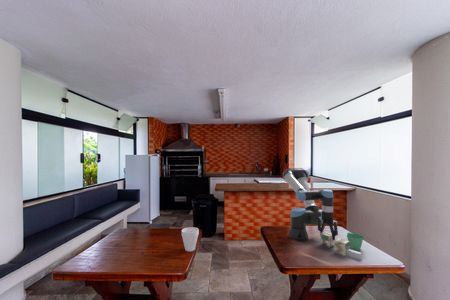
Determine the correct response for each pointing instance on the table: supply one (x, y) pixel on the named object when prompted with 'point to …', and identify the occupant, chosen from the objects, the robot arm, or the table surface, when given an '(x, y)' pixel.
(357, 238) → the mug
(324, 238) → the cream patterned block
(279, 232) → the table surface
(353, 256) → the rail board
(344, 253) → the cream toy block
